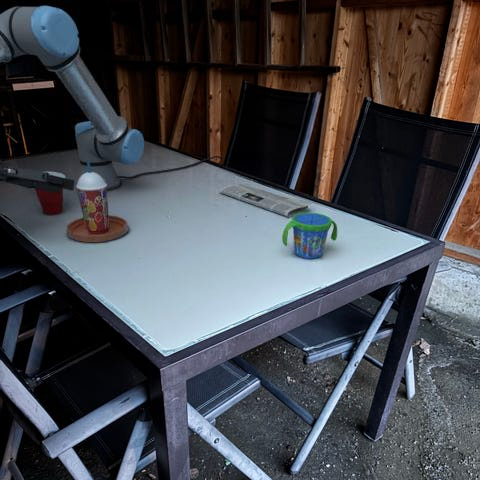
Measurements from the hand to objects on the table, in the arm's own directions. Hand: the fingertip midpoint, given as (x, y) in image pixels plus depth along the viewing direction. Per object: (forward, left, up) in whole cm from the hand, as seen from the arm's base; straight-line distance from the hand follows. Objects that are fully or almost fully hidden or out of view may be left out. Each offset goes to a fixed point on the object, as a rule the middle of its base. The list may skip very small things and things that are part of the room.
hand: (66, 187), depth 135 cm
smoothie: (-4, +6, -13) cm, 15 cm away
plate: (-4, +6, -13) cm, 15 cm away
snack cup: (-30, +63, -13) cm, 71 cm away
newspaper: (-60, +28, -13) cm, 68 cm away
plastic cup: (-6, -19, -13) cm, 24 cm away
